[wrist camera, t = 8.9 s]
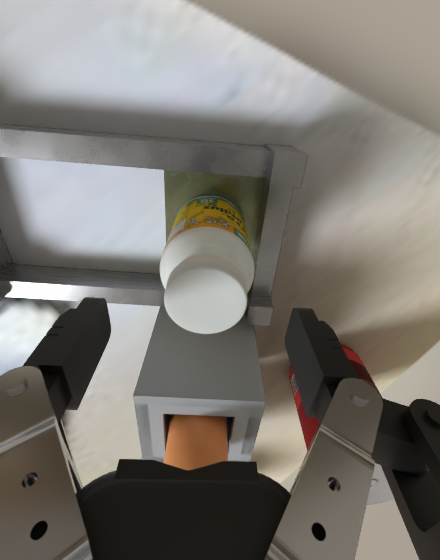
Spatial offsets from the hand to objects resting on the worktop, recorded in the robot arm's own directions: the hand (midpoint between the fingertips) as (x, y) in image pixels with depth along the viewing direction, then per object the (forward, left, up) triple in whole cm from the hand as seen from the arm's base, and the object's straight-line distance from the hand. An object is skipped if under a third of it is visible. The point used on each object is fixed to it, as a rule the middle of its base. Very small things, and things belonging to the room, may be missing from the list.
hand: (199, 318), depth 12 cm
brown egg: (0, -11, -4) cm, 12 cm away
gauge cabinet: (0, -11, -11) cm, 16 cm away
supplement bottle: (0, 0, -11) cm, 11 cm away
